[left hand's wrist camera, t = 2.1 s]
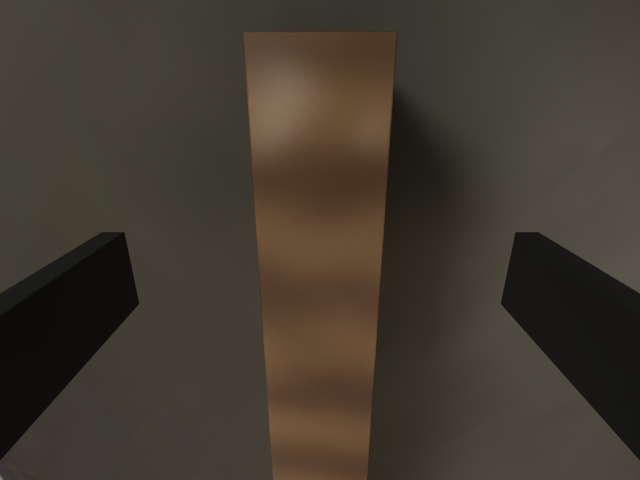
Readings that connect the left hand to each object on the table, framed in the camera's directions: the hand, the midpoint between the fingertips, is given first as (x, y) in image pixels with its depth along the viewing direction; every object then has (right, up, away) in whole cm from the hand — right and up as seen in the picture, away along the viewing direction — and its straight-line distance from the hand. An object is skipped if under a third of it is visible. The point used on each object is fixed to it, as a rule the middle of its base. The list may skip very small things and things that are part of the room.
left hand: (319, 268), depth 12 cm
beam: (0, -27, +24) cm, 36 cm away
